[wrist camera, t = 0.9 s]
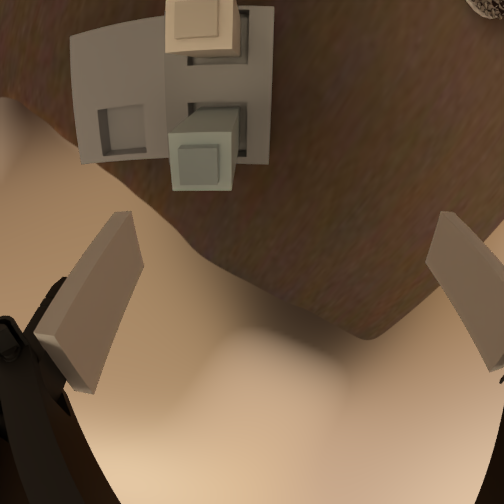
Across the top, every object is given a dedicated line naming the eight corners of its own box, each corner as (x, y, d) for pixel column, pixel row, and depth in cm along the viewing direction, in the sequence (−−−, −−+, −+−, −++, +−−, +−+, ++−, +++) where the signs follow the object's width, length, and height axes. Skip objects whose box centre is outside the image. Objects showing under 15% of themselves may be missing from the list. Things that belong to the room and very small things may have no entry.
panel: (82, 37, 25) (58, 36, 21) (270, 16, 25) (274, 6, 21) (92, 156, 34) (71, 171, 30) (266, 150, 34) (268, 164, 30)
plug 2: (200, 107, 29) (164, 137, 17) (239, 106, 29) (230, 135, 17) (201, 143, 31) (169, 196, 19) (239, 143, 31) (230, 196, 19)
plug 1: (200, 22, 23) (161, -8, 12) (241, 20, 23) (232, -14, 12) (200, 58, 26) (160, 52, 14) (240, 57, 26) (231, 47, 14)
